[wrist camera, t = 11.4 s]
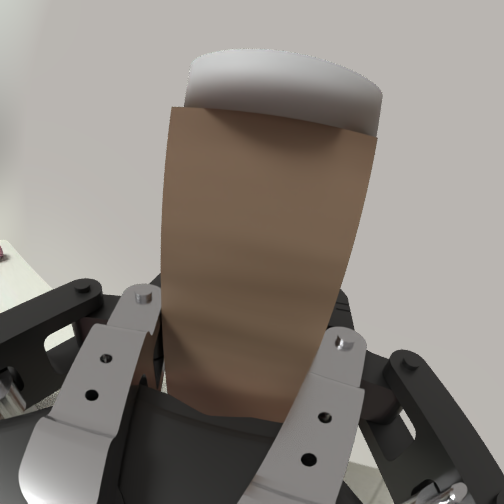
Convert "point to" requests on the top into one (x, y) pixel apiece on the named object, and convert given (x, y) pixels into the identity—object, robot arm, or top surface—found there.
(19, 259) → the top surface
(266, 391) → the dark wooden pin
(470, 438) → the robot arm
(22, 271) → the top surface
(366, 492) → the top surface
